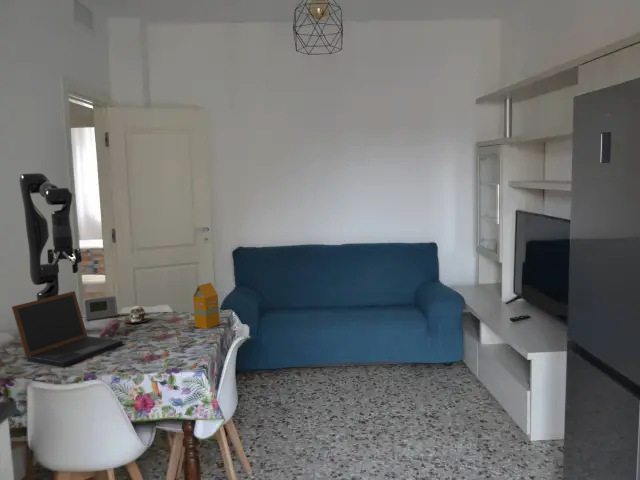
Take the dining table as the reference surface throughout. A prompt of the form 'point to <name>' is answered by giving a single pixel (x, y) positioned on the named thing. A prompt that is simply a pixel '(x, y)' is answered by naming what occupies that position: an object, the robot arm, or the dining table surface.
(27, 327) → the tablet cover
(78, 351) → the black flat slab
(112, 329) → the video game controller
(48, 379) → the dining table surface
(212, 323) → the orange juice
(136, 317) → the skull
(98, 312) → the digital clock
